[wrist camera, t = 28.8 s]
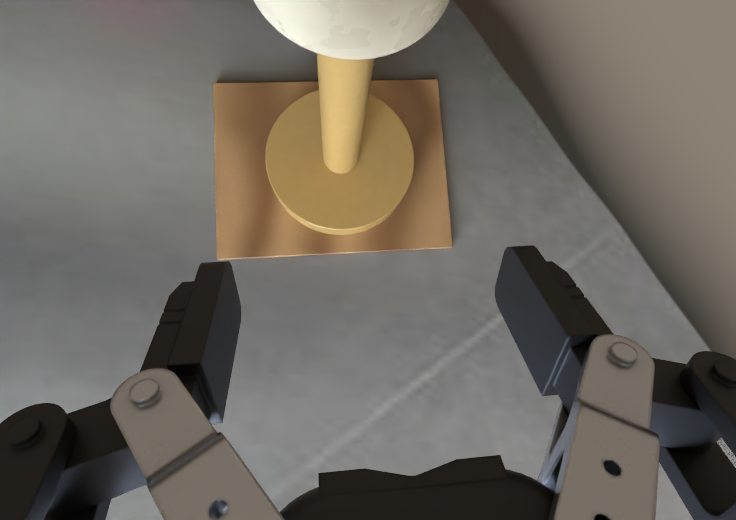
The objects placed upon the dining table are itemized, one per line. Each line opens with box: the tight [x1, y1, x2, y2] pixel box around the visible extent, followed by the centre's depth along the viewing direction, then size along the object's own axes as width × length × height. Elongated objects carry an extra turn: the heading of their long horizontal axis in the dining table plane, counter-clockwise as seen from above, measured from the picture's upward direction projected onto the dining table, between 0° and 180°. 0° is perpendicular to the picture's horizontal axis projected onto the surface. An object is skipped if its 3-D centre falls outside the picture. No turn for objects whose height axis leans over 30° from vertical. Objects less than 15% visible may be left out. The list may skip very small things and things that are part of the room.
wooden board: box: [213, 79, 453, 260], centre depth 33 cm, size 18×14×1 cm
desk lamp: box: [254, 0, 449, 235], centre depth 22 cm, size 11×11×24 cm
